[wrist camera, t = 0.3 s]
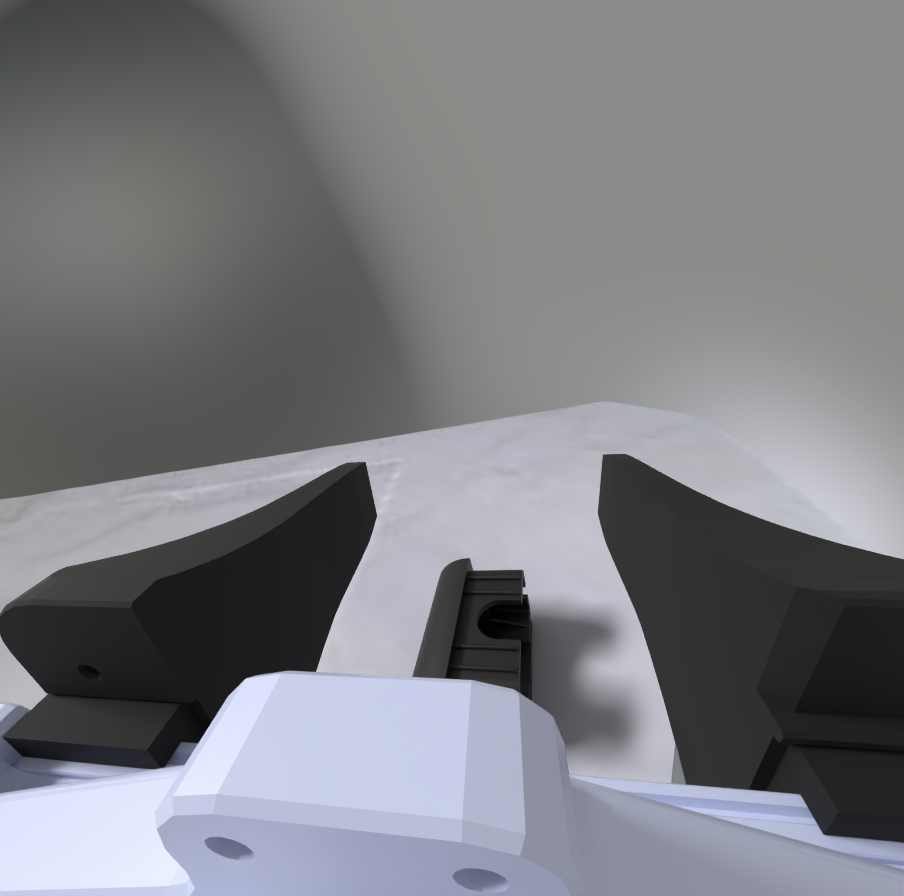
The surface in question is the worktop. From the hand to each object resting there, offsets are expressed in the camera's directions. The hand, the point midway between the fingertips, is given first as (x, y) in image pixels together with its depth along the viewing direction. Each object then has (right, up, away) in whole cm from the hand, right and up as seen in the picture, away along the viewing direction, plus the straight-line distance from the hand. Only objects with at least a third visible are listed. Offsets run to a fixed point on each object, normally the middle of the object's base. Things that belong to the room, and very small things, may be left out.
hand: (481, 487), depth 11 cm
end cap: (+2, -16, +16) cm, 23 cm away
